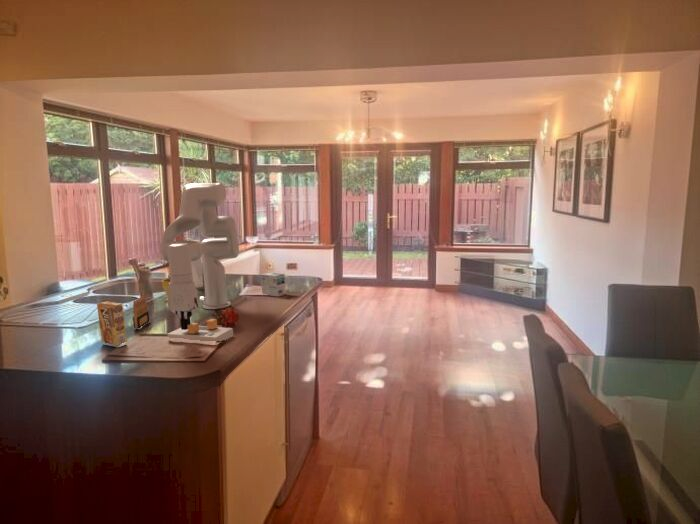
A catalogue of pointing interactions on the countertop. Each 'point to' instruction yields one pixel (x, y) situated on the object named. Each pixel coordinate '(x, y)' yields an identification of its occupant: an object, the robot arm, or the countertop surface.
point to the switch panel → (203, 334)
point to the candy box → (112, 323)
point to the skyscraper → (197, 272)
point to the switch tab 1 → (193, 328)
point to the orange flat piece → (140, 312)
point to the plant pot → (166, 285)
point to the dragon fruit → (227, 317)
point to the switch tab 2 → (211, 323)
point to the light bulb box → (273, 284)
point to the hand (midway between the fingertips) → (186, 328)
